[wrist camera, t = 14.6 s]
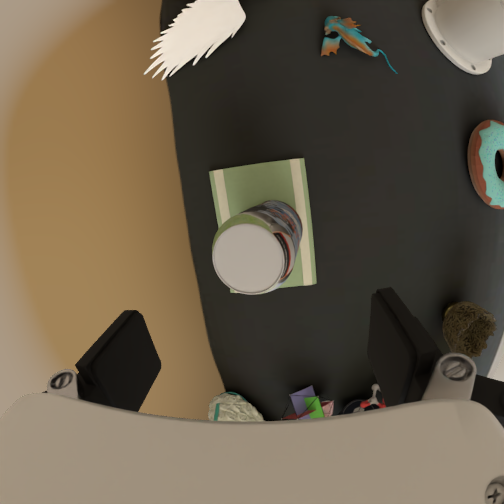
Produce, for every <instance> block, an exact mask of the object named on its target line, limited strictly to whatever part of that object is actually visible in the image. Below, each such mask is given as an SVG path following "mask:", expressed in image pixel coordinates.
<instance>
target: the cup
mask: <svg viewBox="0 0 504 504" xmlns="http://www.w3.org/2000/svg"><path fill="white" fill-rule="evenodd" d="M493 316H494V315H493V314H491V313H489V312H488V311H486V310H485V309H483V308H482V307H480V306H478V305H476V304H474V303H472V302H469V301H463V302H450V303H449V304H448V305H446V307H445V308H444V310H443V312H442V320H443V335H444V338H445V340H446V342H447V344H448V346H449V348H450V350H451V351H452V353H461V354H464V355H467V356H468V357H470V358H471V359H472V357H477V356H480V355H481V353H482V350H483V349H486V348H487V344H486V342H485V341H486V340H487V339H488V336H490V335H491V336H494V333H493V331H495V330H496V329H497V328H496V325H495V323H494V322H496V319H495V318H494V317H493Z"/></svg>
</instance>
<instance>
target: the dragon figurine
mask: <svg viewBox="0 0 504 504" xmlns="http://www.w3.org/2000/svg"><path fill="white" fill-rule="evenodd" d="M353 23H356V22H355V21H352V20H351V18H346V19H342V20H341V17H337V16H329V17H327V18H326V20H325V26H326V27H325V28H324V29H325V31H326V32H325V33H326V34H330V33H331V31H336V32H338V34H339V36H338V37H337V38H335V39H330V38H328V37H325V38H324V40H323V44H322V50H321V56H322V55H328V56H329V53H330V52H334V53H335V54H337V53H336V51H337V49H338V48H339V41H340V39H341V38H342V39H343V40H344V41H345V42H346V43H347V44H348V45H349V46H351V47H353V48H355V49H357V50H360V51H362V52H364V53H366V54H368V55H370V56H373V57H376V56H378V55H379V51H380V52H381V53H382V54H383V55H384V57H385V58H386V61H387V63H388V65H389V67H390V68H391V69H392V70H393V71H394V72H395V73H397V72H396V71H395V70H394V69H393V68H392V67H391V65H390V64H389V61H388V59H387V57H386V55H385V54H384V52H383V51H381V50H380V49H377V50H376V52H374V51H372V50H371V49H370V48H369V47H368V46H367V45H366V43H365V42H368V43H371V42H372V41H371V40H369V39H368V38H366V37H364V36H362V35H360V34H359V33H358V32H361V31H360V30H358V29H357V28H356V26H360V25H354V24H353ZM326 34H325V35H326ZM397 74H398V73H397Z"/></svg>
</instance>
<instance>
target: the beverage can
mask: <svg viewBox="0 0 504 504" xmlns="http://www.w3.org/2000/svg"><path fill="white" fill-rule="evenodd" d="M302 232H303V228H302V222H301V219H300V217H299V215H298V214H297V212H296V211H295V210H294V209H293V208H292V207H291V206H290V205H288V204H286V203H284V202H281V201H277V200H269V201H264V202H262V203H259V204H257V205H255V206H253V207H251V208H249V209H247V210H245V211H243V212H241V213H239V214H237V215H235V216H233V217H231V218H229V219H228V220H227V221H225V222H224V223H223V224H222V225H221V227H220V228H219V230H218V231H217V233H216V235H215V238H214V240H213V246H212V256H213V264H214V268H215V271H216V273H217V274H218V276H219V278H220V279H221V280H222V281H223V282H224V283H225V284H226V285H227V286H228V287H229V288H231V289H233V290H235V291H237V292H239V293H243V294H262V293H267V292H270V291H272V290H274V289H276V288H278V287H279V286H281V285H282V284H283V283H284V282H285V281H286V280H287V278H288V277H289V275H290V274H291V272H292V270H293V266H294V263H295V259H296V256H297V252H298V249H299V245H300V242H301V238H302Z"/></svg>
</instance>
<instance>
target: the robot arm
mask: <svg viewBox="0 0 504 504" xmlns="http://www.w3.org/2000/svg"><path fill="white" fill-rule="evenodd" d="M422 19H423V23H424V25H425V28H426V30H427V32H428V34H429V35H430V37H431V39H432V40H433V42H434V43H435V45H436V46H437V47H438V48H439V50H440V51H441V52H442V53H443V54H444V55H445V56H446V57H447V58H448V59H449V60H450V61H451V62H452V63H453V64H455V65H456V66H457V67H459V68H460V69H462V70H464V71H466V72H468V73H471V74H475V75H479V74H483V73H485V72H487V71H488V70H489V69H490V67H491V63H492V58H494V57H497V56H500V55H502V54H504V0H429V1H428V2H426V3H425V5H424V6H423V8H422ZM368 358H369V360H370V363H371V366H372V368H373V371H374V374H375V377H376V379H377V382H378V385H379V388H380V391H381V394H382V397H383V400H384V403H385V406H386V407H385V408H380V409H375V410H369V411H364V412H358V413H352V414H345V415H337V416H329V417H321V418H312V419H301V420H286V421H259V422H237V421H210V420H196V419H184V418H175V417H167V416H159V415H152V414H145V413H140V412H138V411H139V409H140V407H141V405H142V403H143V401H144V400H145V398H146V396H147V394H148V392H149V390H150V388H151V386H152V384H153V383H154V381H155V379H156V377H157V375H158V373H159V371H160V369H161V361H160V359H159V357H158V354H157V351H156V349H155V347H154V344H153V341H152V339H151V336H150V334H149V331H148V329H147V326H146V323H145V320H144V318H143V315H142V314H140V313H139V312H138V311H137V310H125V311H124V312H123V313H122V314H121V315H120V316H119V317H118V318H117V319H116V320H115V321H114V322H113V324H111V325H110V327H109V328H108V329H107V330H106V331H105V332H104V333H103V334H102V335H101V336H100V337H99V339H98V340H97V341H96V342H95V343H94V344H93V345H92V346H91V347H90V349H89V350H88V351H87V352H86V353H85V354H84V355H83V356H82V358H81V359H80V360H79V361H78V362H77V363H76V364H75V366H76V368H77V369H78V371H79V373H78V374H76V373H75V372H74V371H73V370H71V369H65V370H61V371H59V372H57V373H55V374H54V375H53V376H52V377H51V378H50V380H49V381H48V385H47V391H45V392H42V393H33V394H28V395H25V396H22V397H21V398H19V399H18V400H17V401H16V402H15V403H14V404H13V405H12V406H11V407H10V408H9V409H8V410H7V411H6V412H5V413H4V415H3V416H2V417H1V418H0V504H504V382H502V381H498V380H494V379H490V378H487V377H483V376H480V375H476V365H475V363H474V361H473V360H472V359H471V358H470V357H468V356H467V355H464V354H461V353H448V354H445V355H443V354H442V353H441V351H440V350H439V348H438V347H437V345H436V344H435V342H434V341H433V340H432V338H431V337H430V335H429V334H428V333H427V331H426V330H425V328H424V327H423V326H422V324H421V323H420V322H419V320H418V319H417V318H416V317H414V316H413V315H412V314H411V312H410V311H409V310H408V308H407V307H406V306H405V304H404V303H403V302H402V300H401V299H400V298H399V297H398V295H397V294H396V293H395V291H394V290H393V289H392V288H391V287H389V288H383V289H377V291H376V293H375V294H372V299H371V316H370V329H369V340H368Z"/></svg>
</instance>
